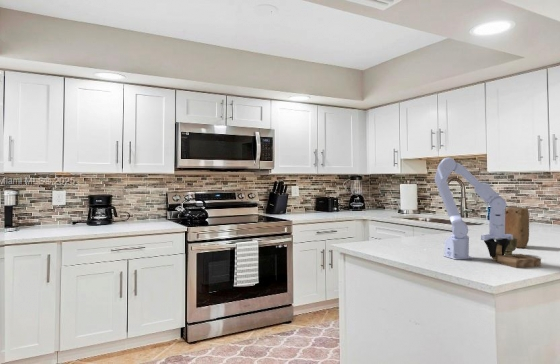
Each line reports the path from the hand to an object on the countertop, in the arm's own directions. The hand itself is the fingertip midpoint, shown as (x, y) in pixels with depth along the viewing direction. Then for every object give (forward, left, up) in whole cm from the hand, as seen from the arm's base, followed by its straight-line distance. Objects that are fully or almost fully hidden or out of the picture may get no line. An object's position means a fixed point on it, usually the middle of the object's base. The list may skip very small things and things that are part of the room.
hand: (496, 256), depth 159 cm
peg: (0, 0, -2) cm, 2 cm away
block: (+35, +24, -2) cm, 42 cm away
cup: (+15, +9, -2) cm, 18 cm away
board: (+3, -8, -2) cm, 9 cm away
